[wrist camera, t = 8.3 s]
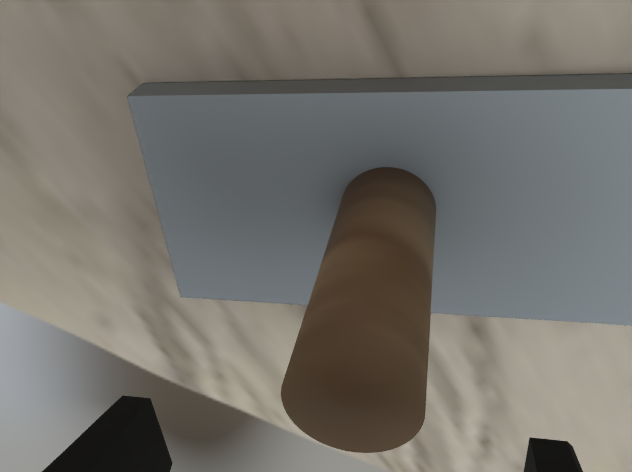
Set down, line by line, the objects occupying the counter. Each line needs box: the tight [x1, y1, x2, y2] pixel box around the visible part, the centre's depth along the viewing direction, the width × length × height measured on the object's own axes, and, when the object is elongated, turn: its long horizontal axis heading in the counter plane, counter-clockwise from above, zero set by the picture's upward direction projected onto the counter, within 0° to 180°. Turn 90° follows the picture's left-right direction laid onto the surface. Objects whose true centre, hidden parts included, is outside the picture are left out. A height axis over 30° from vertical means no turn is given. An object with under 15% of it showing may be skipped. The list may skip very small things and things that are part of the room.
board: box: [127, 74, 632, 325], centre depth 19 cm, size 16×8×1 cm, turn 95°
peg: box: [281, 167, 436, 453], centre depth 15 cm, size 3×3×8 cm
